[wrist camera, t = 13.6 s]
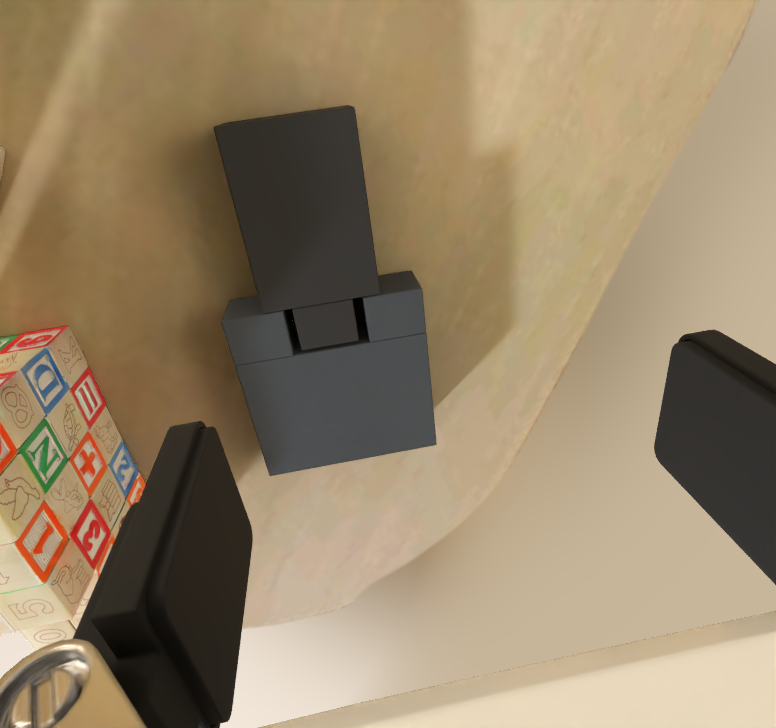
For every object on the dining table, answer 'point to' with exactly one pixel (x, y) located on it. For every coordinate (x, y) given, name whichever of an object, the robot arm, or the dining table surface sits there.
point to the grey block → (336, 381)
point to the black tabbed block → (304, 217)
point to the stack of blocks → (55, 485)
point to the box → (1, 161)
